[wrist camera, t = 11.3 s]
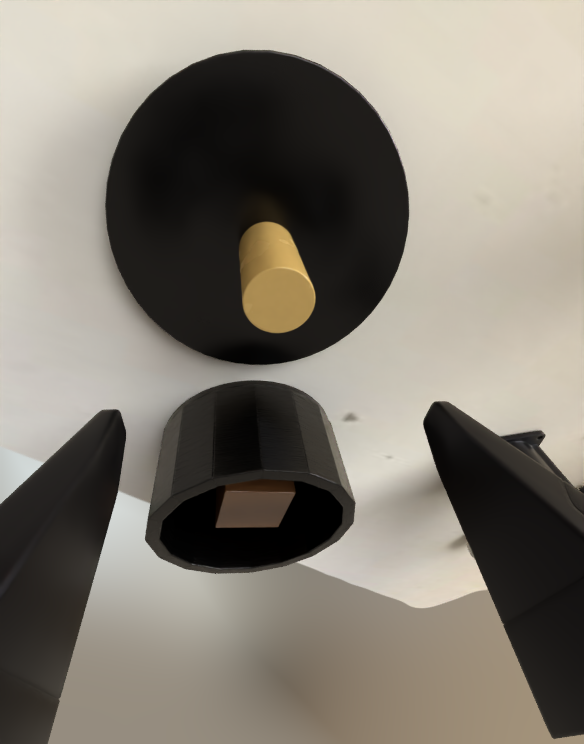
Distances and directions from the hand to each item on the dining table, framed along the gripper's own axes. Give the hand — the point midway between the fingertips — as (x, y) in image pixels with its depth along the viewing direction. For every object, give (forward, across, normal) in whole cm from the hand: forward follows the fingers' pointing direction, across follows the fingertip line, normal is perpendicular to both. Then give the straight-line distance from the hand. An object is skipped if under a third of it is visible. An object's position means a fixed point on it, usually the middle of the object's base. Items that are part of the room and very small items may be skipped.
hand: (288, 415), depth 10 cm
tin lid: (+10, 0, -1) cm, 10 cm away
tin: (+10, 0, +14) cm, 17 cm away
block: (+10, 0, +14) cm, 17 cm away
